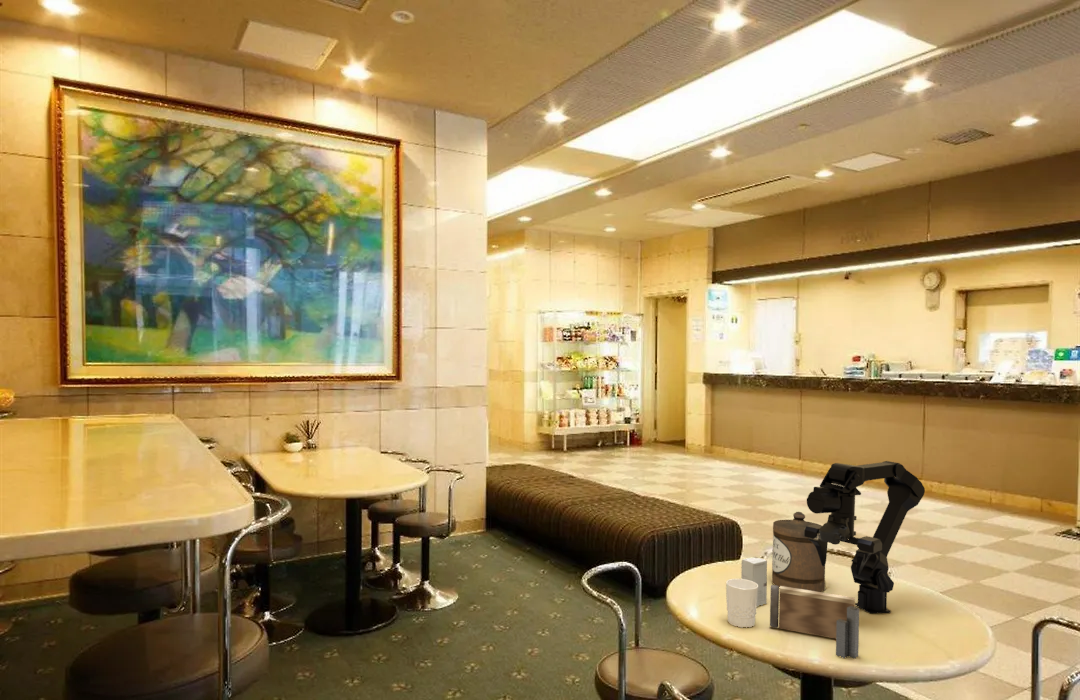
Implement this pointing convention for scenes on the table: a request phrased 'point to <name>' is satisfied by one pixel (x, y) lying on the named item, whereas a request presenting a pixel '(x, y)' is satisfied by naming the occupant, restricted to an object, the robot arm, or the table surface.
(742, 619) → the white cup
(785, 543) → the wooden container
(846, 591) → the table surface
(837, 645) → the post
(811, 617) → the gate leaf
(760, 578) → the skincare box
